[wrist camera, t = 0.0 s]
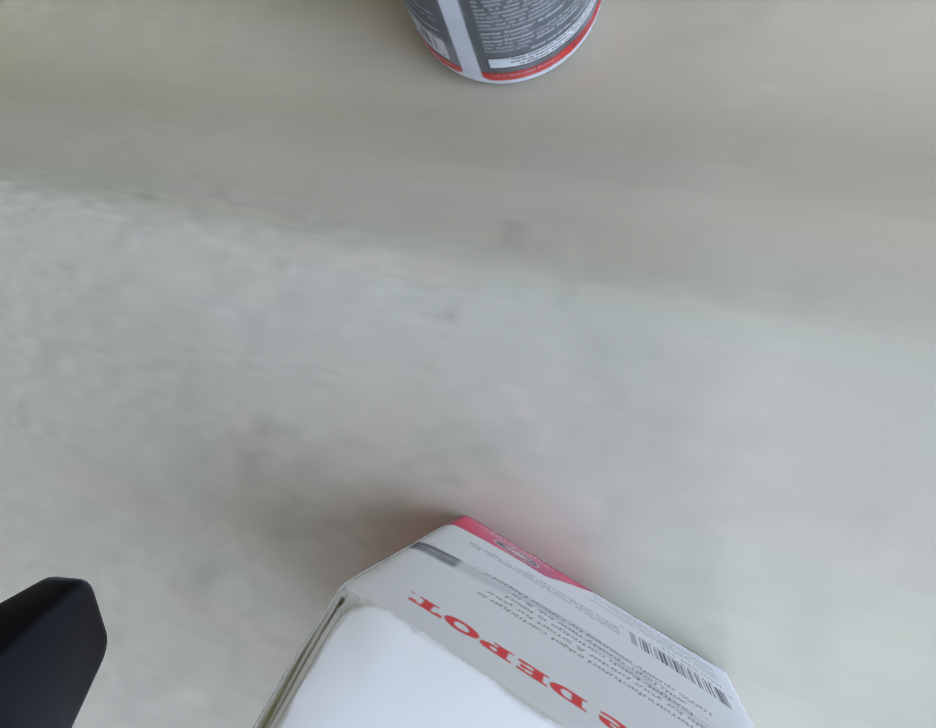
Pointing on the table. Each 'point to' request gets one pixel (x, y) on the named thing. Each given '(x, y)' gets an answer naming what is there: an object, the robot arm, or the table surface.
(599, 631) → the ink box
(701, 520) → the table surface
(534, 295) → the table surface
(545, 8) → the pill bottle
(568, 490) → the table surface
